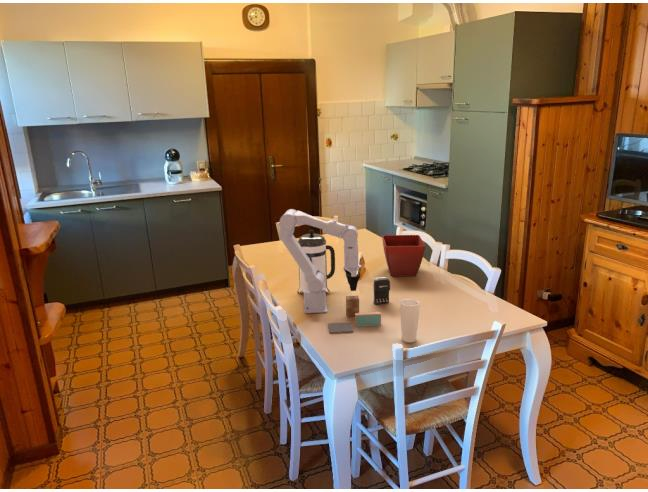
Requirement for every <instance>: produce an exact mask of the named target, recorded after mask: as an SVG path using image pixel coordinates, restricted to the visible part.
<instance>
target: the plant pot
mask: <svg viewBox="0 0 648 492" xmlns="http://www.w3.org/2000/svg"><path fill="white" fill-rule="evenodd" d="M421 237H422V236H420V235H419V234H389V235H388V234H385V235H382V236H381V239H382V246H383V252H384V257H385V261H386V264H387V265H386V266H387V268H388V271H389V275H390V276H391V277H416V276H417V275H418V273H419V270H420V268H421V265H422V261H423V258H424V255H425V249H426V244H425V242H424V241H423V240H422V238H421Z"/></svg>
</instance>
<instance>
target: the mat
mask: <svg viewBox="0 0 648 492" xmlns="http://www.w3.org/2000/svg"><path fill="white" fill-rule="evenodd" d="M328 331H329V334H343V333H344V334H346V333H348V334H349V333H354V328H353V325H352V321H348V322H347V321H346V322H345V321H344V322H329V323H328Z"/></svg>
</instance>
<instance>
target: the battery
mask: <svg viewBox="0 0 648 492" xmlns="http://www.w3.org/2000/svg"><path fill="white" fill-rule="evenodd" d="M372 286H373V287H372V288H373V289H372V290H373V303H374V304H375V305H384V304H385V305H386V304H389V303H390V291H391V280H390V278H389V277H387V276H381V277H380V276H379V277H375V278H374V279H373V285H372Z"/></svg>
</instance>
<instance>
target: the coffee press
mask: <svg viewBox="0 0 648 492" xmlns="http://www.w3.org/2000/svg"><path fill="white" fill-rule="evenodd" d="M297 241H298V243H299V244H300V246H301V247H302V249H303V250H304V252H305V253H306V255H307V256H308V258H309V259H310V261H311V262H312V264H313V265H314V266H315V267H317V268H318V270H319V271H321V272H323V273H324V275H325V282H324V284H323V285H324V286H325V290H327V291H326V294H327V295H329V294H330V292H331V290H330V289H329V287H328V280H329V279H331V278H333V276H334V275H335V271H336V253H335V252H336V251H335V249H334V247H333V246H331V245H328V244H327V239H326V237H325V236H324V235H322V234H319V233H315V231H314V230H313V229H310V230H309V231H308V233H306V234H302V236H300V237H299V238H298V240H297ZM326 244H327V245H326ZM327 250H329V252H330V272H329V273H328V270H327V267H328V266H327V265H328V263H327V262H328V261H327ZM298 276H299V277H298V279H299V282H298V283H299V288H298V289H297V291H296V292H297V293H298V294H301V293H304V290H307V289H308V284H307V282H306V280H305V276H304V273H303V271H302V270H301V268H300V267H299V266H298ZM299 290H300V291H299ZM299 292H300V293H299Z"/></svg>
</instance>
